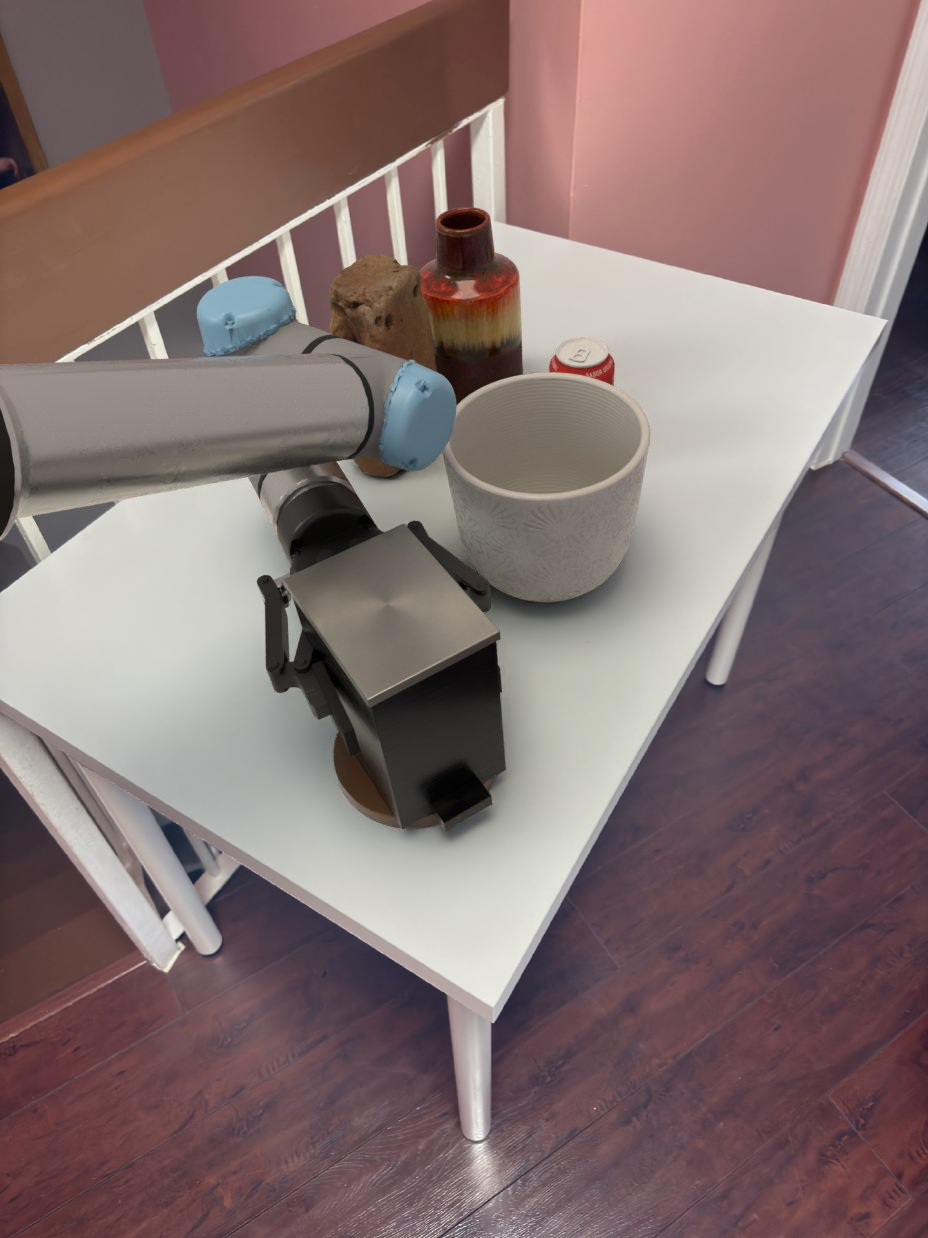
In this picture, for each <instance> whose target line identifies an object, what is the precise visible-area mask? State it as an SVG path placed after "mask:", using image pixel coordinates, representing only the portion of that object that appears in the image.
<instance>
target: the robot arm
mask: <svg viewBox="0 0 928 1238" xmlns="http://www.w3.org/2000/svg"><path fill="white" fill-rule="evenodd" d="M196 319H197V323H198V326H199V331H200V334H201V338H202V342H203V345H204V347H203V354H204V355H205V356H202V357H178V358H177V357H175V358H146V359H145V358H144V359H143V358H142V359H121V360H120V359H119V360H117V359H115V360H91V361H90V360H87V361H60V362H59V361H58V362H32V363H31V362H29V363H3V364H0V541H2V540H3V539H4V538H6V536H7V535H8V534H10V531H11V530H12V528H13V526H14V524H15V522H16V520H17V519H23V518H27V517H34V516H40V515H45V514H52V513H55V512H56V513H57V512H63V511H67V510H73V509H78V508H84V507H89V506H94V505H95V506H96V505H101V504H106V503H112V502H117V501H122V500H129V499H134V498H140V497H144V496H145V497H146V496H150V495H156V494H161V493H167V492H173V491H179V490H184V489H191V488H195V487H200V486H206V485H211V484H217V483H223V482H228V481H234V480H241V479H246V478H248V480H249V482H250V484H251V486H252V488H253V490H254V491H255V493H256V495H257V498H258V499H259V502H260V504H261V506H262V508H263V510H264V512H265V514H266V517H267V518H268V520H269V523H270V525H271V527H272V529H273V532H274V533H275V536H276V537H277V540H278V542H279V544H280V546H281V548H282V551H283V553H284V554H285V556H286V558H287V561H288V562H289V564H290V568H289V573H287V574H284V575H282V576H279V577H277V578H275V579H273V576H271V575H270V574H262V575H260V576H259V577H258V578H257V579H256V584H257V587H258V591H259V593H260V596H261V598H262V601H263V604H264V636H265V640H264V641H265V642H264V643H265V646H264V647H265V669H266V672H267V674H268V677H269V681H270V682H271V684H272V687H273V690H274V692H275V693H277V694H285V693H286V692H288V691H289V690H290V688H298V689H300V690H301V692H302V694H303V695H304V697H305V700H306V702H307V703H308V706H309V708H310V710H311V712H312V715H313V717H315V718H316V719H317V720H319V721H320V720H322V719H324V718H326V717H330V715H332V717H333V719H334V722H335V724H336V726H337V728H338V730H339V733H340V735H341V737H342V739H343V741H344V743H345V746H346V748H347V750H348V752H349V754H350V756H353V755H355V754H357V753H360V752H361V751H360V747H359V744H358V740H357V737H356V733H355V730H354V727H353V725H352V723H351V721H350V719H349V717H348V715H347V713H346V711H345V708H344V706H343V704H342V702H341V700H340V698H339V696H338V694H337V692H336V689H335V687H334V685H333V683H332V681H331V679H330V677H329V675H328V673H327V671H326V668H325V666H324V664H323V662H322V661H320V662H318V661H317V658H316V655H315V651H314V648H313V647H312V645H311V644H310V642H309V641H308V639H307V638H306V636H305V635H304V633H303V629H302V628H301V631H300V634H299V640H298V641H297V642H298V643H297V647H296V649H295V653H294V658H293V661H291V660H290V637H289V635H290V634H289V617H288V613H287V610H286V609H287V608H289V607H290V602H291V601H292V596H291V594H290V593H289V591H288V590H287V588H286V587H285V584H284V581H283V579H284V578H287V577H289V576H291V575H293V574H295V573H297V572H300V571H302V570H304V569H306V568H308V567H310V566H313V565H315V564H317V563H319V562H321V561H323V560H326V559H328V558H330V557H332V556H334V555H336V554H339V553H341V552H343V551H345V550H347V549H349V548H352V547H354V546H356V545H358V544H360V543H362V542H365V541H367V540H369V539H371V538H373V537H375V536H378V535H380V534H382V533H384V532H385V531H383V530H381V529H379V527H378V526H377V524H376V522H375V520H374V519H373V517H372V516H371V514H370V513H369V511H368V510H367V507H366V506H365V504H364V503H363V501H362V500H361V498H360V496H359V495H358V494H357V491H356V490H355V488H354V487H353V485H352V483H351V482H350V480H349V478H348V477H347V475H346V474H345V472H344V471H343V469H342V468H341V466H340V465H339V463H338V462H340V461H350V460H353V459H357V458H362V457H370V458H375V459H378V460H380V461H382V463H384V464H385V465H388V466H395V467H398V468H401V470H404V471H409V472H417V471H421V470H424V469H426V468H428V467H429V466H430V465H432V464H433V463H434V462H435V461H436V460H437V459H438V458H440V455H442V454H443V450H444V449H445V447H446V445H447V443H448V441H449V439H450V437H451V434H452V431H453V425H454V419H455V416H456V397H455V393H454V390H453V388H452V386H451V384H450V383H449V381H448V380H447V379H446V378H445V377H444V376H443V375H441V374H439V373H437V372H435V371H433V370H431V369H429V368H426V367H424V366H422V365H420V364H418V363H417V362H416V361H415V360H409V361H408V360H405V359H402V358H399V357H396V356H393V355H390V354H387V353H384V352H381V351H378V350H375V349H372V348H369V347H367V346H364V345H361V344H358V343H355V342H352V341H349V340H346V339H344V338H341V337H339V336H337V335H334V334H331V333H330V332H328V331H325V330H323V329H320V328H317V327H314V326H311V325H309V324H306V323H303V322H300V321H299V320H298V319H297V310H296V307H295V306H294V303H293V301H292V298H291V296H290V293H289V291H288V289H286V287H285V286H284V285H283V284H282V282H280V281H278V280H276V279H275V278H272V277H267V276H261V275H247V276H241V277H235V278H231V279H229V280H226V281H223V282H221V283H219V284H218V285H216V286H214V287H213V288H211V289H209V290H208V291H207V292H205V294H204V295H203V296H202V297H201V298H200V300H199V302H198V304H197V307H196ZM406 526H407V527H408V528H409V530H410V531H411V532H412V533H413V534H414V535H415V536H416V537H417V539H418V540H419V541H420V542H421V543H422V544H423V545H424V546H425V548H426V549H427V550H428V551H429V552H430V553H431V554H432V555H433V557H434V558H435V559H436V560H437V561H438V562H439V563H440V564H441V566H442V567H443V568H444V569H445V570H446V571H447V572H448V573H449V575H450V576H451V577H452V578H453V579H454V580H455V581H456V582H457V584H458V585H459V586H460V587H461V588H462V589H463V590H464V591H465V593H466V594H467V595H468V596H469V597H470V598H471V599H472V600H473V602H474V603H475V604H476V605H477V606H478V607H479V608H480V609H481V611H482V612H483V613H487V612H489V611H490V610H491V608H492V601H491V600H492V599H491V589H490V584H489V582H488V581H487V580H486V579H485V578H483V577H482V576H481V575H480V574H479V573H478V571H475V570H474V569H473V568H471V567H470V566H469V565H467V564H466V563H465V562H464V561H462V560H461V559H459V558H458V557H457V556H455V555H454V554H453V553H452V552H450V551H449V550H447V548H445V547H443V546H442V545H441V544H440V543H439V542H437V541H436V540H435V539H433V538H432V537H431V536H429V534H428V532H427V531H426V529H425V527H424V525H423V523H422V522H421V521H419V520H411V521H409V522H408V523H407V525H406ZM498 670H499V683H500V694H501V693H502V692H503V688H502V675H501V667H500V665H499V664H498ZM336 726H335V727H336ZM337 728H336V729H337ZM338 730H337V731H338Z"/></svg>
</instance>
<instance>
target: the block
mask: <svg viewBox="0 0 928 1238" xmlns="http://www.w3.org/2000/svg"><path fill="white" fill-rule="evenodd" d="M328 288H329V289H328V296H329V297H328V298H329V304H330V316H331V319H330V322H329V324H328V329H329V333H331V334H334V335H337V336H339V337H341V338H344V339H346V340H349V341H352V342H355V343H358V344H361V345H364V346H367V347H369V348H372V349H375V350H378V351H381V352H384V353H387V354H390V355H393V356H396V357H399V358H402V359H405V360H408V361H409V360H415V361H416V362H417V363H418V364H420V365H422V366H424V367H426V368H429V369H431V370H433V371H435V372H437V369H436V365H435V354H434V345H433V335H432V330H431V324H430V322H429V314H428V307H427V303H426V301H425V299H424V297H423V296H422V279H421V273H420V270H419V268H418V267H417V266H414V265H412V264H402V265H401V264H400V262H399V261H398V260H397V259H395V258H394V257H392V256H389V255H384V254H371V253H370V254H368V255H364V256H361V257H359V258H358V259H356V260H355V261H354V262H353V263H352V264H351V265H349V266H347V267H345V268H343V269H342V270H340V272H339V273H337V274H336V275H335V277H334V278H333V280H332V281H331V282H330V284H329V287H328ZM352 460H353V462H354V463H355V464H356V465H357V466H358V468H359V470H360V471H362V473H364V474H367V475H370V476H374V477H379V478H389V477H392V476H393V475H396V474H397V473H399V472H400V471H401V470H402V469H401V468H398V467H395V466H388V465H385V464H384V463H382V461H380V460H378V459H375V458H370V457H362V458H357V459H352Z"/></svg>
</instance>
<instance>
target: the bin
mask: <svg viewBox="0 0 928 1238" xmlns="http://www.w3.org/2000/svg"><path fill="white" fill-rule="evenodd" d="M383 532H384V533H382V534H380V535H378V536H375V537H373V538H371V539H369V540H367V541H365V542H362V543H360V544H358V545H356V546H354V547H352V548H349V549H347V550H345V551H343V552H341V553H339V554H336V555H334V556H332V557H330V558H328V559H326V560H323V561H321V562H319V563H317V564H315V565H313V566H310V567H308V568H306V569H304V570H302V571H300V572H297V573H295V574H293V575H291V576H289V577H287V578H284V579H283V581H284V584H285V587H286V588H287V590H288V591H289V593H290V594H291V599H292V600H293V604H294V607H295V610H296V613H297V617H298V621H299V623H300V627H301V630H302V629H303V633H304V635H305V636H306V638H307V639H308V641H309V642H310V644H311V645H312V647H313V648H314V651H315V655H316V658H317V661H318V662H320V661H322V662H323V664H324V666H325V668H326V671H327V673H328V675H329V677H330V679H331V681H332V683H333V685H334V687H335V689H336V692H337V694H338V696H339V698H340V700H341V702H342V704H343V706H344V708H345V711H346V713H347V715H348V717H349V719H350V721H351V723H352V725H353V727H354V730H355V733H356V737H357V740H358V744H359V747H360V751H361V752H360V753H357V754H355V755H354V756H355V757H356V759H357V760H358V762H359V764H360V765H361V767H362V768H363V770H364V771H365V773H366V774H367V776H368V777H369V779H370V781H371V782H372V784H373V785H374V787H375V788H376V790H377V791H378V793H379V794H380V796H381V798H382V799H383V801H384V802H385V804H386V805H387V807H388V808H389V810H390V811H391V813H392V815H393V816H394V818H395V819H396V821H397V822H398V824H399V825H400V827H401V828H400V829H401V830H405V829H408V828H407V827H408V826H410V825H412V824H413V823H415V822H417V821H419V820H420V819H422V818H424V817H426V816H427V815H429V814H431V813H432V812H433V814H434V815H435V817H436V818H437V820H438V821H439V822H440V824H439V825H440V826H441V827H442V829H443V830H444V831H445V832H449V831H450V830H451V829H453V828H455V827H456V826H458V825H460V824H462V823H464V822H465V821H467V820H469V819H470V818H472V817H473V816H475V815H477V814H479V813H480V812H482V811H484V810H485V809H487V808H489V807H490V806H492V805H493V797H492V795H491V793H490V792H489V789H488V790H487V789H486V788H485V786H484V785H483V783H484V782H486V781H488V780H490V779H491V778H493V777H495V778H496V777H497V776H498V775H500V774H502V773H503V772H505V771H507V766H506V751H505V739H504V738H505V735H504V725H503V711H502V698H501V693H500V683H499V670H498V665H499V658H498V645H497V641H500V640H501V631H500V630H499V629H498V627H497V626H496V625H495V624H494V623H493V621H492V620H491V619H490V618H489V617H488V616H487V615H486V613H485V612H482V611H481V609H480V608H479V607H478V606H477V605H476V604H475V603H474V602H473V600H472V599H471V598H470V597H469V596H468V595H467V594H466V593H465V591H464V590H463V589H462V588H461V587H460V586H459V585H458V584H457V582H456V581H455V580H454V579H453V578H452V577H451V576H450V575H449V573H448V572H447V571H446V570H445V569H444V568H443V567H442V566H441V564H440V563H439V562H438V561H437V560H436V559H435V558H434V557H433V555H432V554H431V553H430V552H429V551H428V550H427V549H426V548H425V546H424V545H423V544H422V543H421V542H420V541H419V540H418V539H417V537H416V536H415V535H414V534H413V533H412V532H411V531H410V530H409V528H408V527H407V525H406V523H402V524H400V525H397V526H395V527H393V528H391V529H389V530H386V531H383ZM329 719H330V720H331V722H332V723H333V725H334V727H335V728H336V730H337V732H338V731H339V730H338V728H337V726H336V724H335V722H334V719H333V717H332V715H329Z"/></svg>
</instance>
